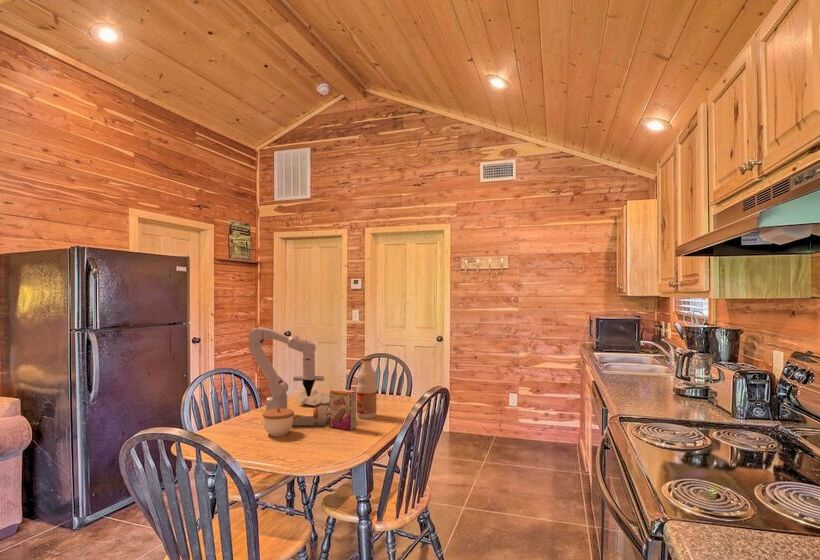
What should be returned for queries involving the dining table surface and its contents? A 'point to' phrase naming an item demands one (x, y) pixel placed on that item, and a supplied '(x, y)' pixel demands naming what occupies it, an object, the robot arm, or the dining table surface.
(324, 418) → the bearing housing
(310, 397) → the food container
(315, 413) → the shaft
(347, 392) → the candy bar box
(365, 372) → the fruit juice
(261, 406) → the dining table surface
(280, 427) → the lidded bowl
